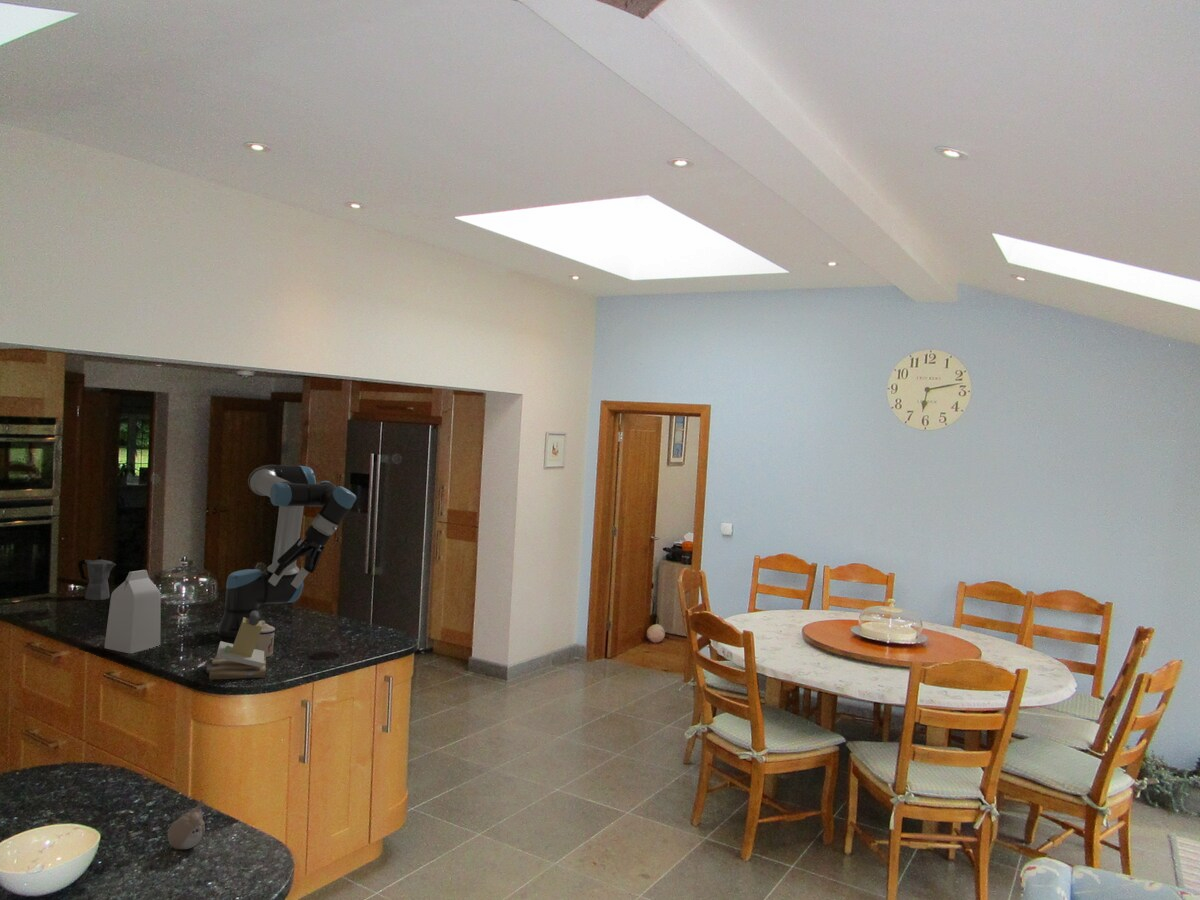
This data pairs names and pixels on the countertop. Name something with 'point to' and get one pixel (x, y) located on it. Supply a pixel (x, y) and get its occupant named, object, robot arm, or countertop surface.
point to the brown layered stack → (234, 670)
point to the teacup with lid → (266, 639)
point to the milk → (134, 615)
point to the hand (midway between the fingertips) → (283, 585)
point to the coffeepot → (97, 578)
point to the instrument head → (244, 643)
